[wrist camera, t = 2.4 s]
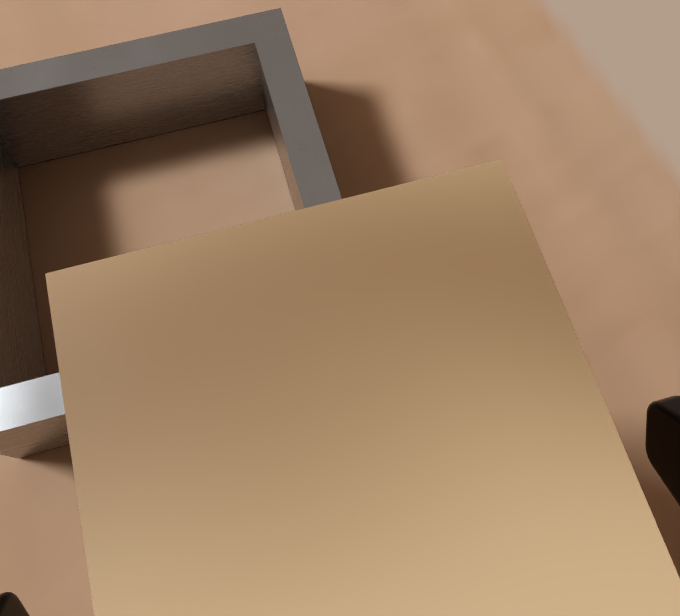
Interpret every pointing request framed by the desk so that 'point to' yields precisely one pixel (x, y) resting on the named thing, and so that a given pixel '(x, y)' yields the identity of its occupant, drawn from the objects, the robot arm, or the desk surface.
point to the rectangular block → (349, 421)
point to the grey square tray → (122, 126)
